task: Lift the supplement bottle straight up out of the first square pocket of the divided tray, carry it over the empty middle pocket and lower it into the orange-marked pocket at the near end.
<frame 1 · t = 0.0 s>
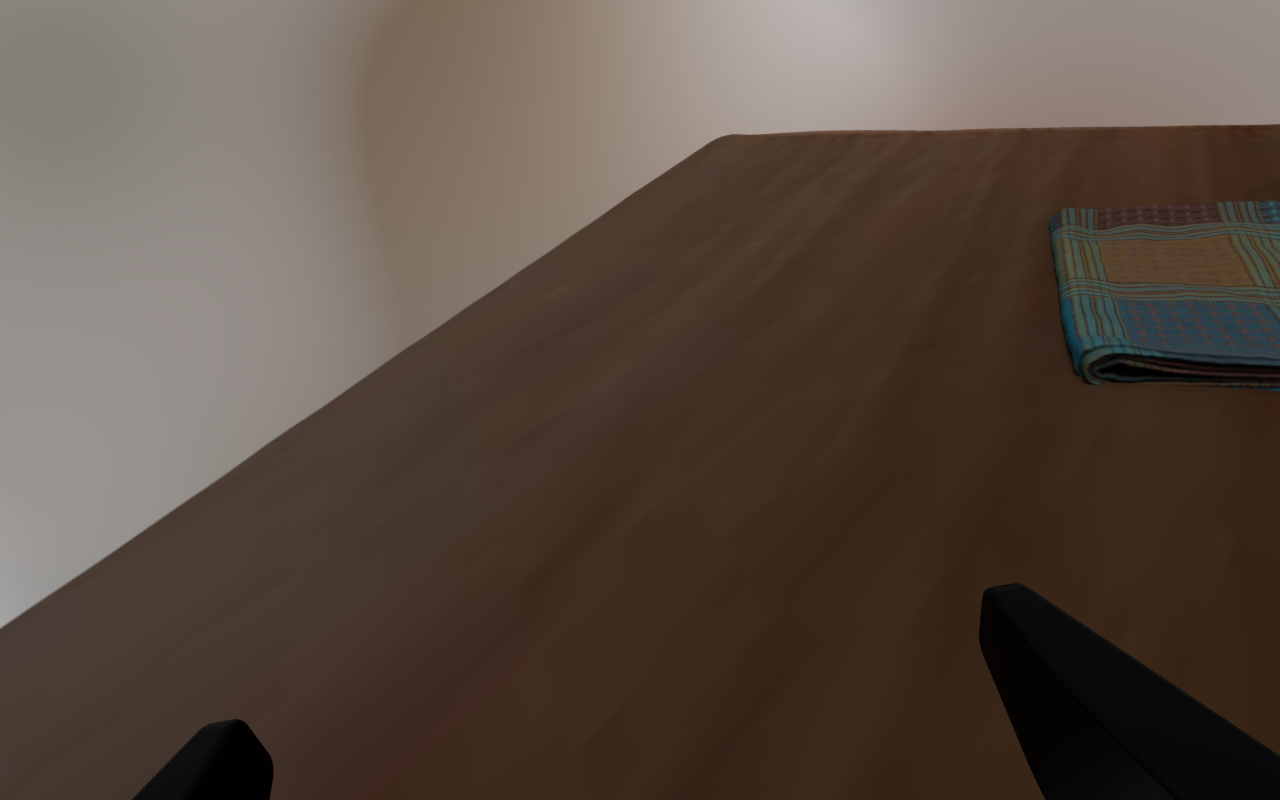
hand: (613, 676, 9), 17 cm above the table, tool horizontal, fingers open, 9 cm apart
dish towel: (1213, 300, 45), on the table
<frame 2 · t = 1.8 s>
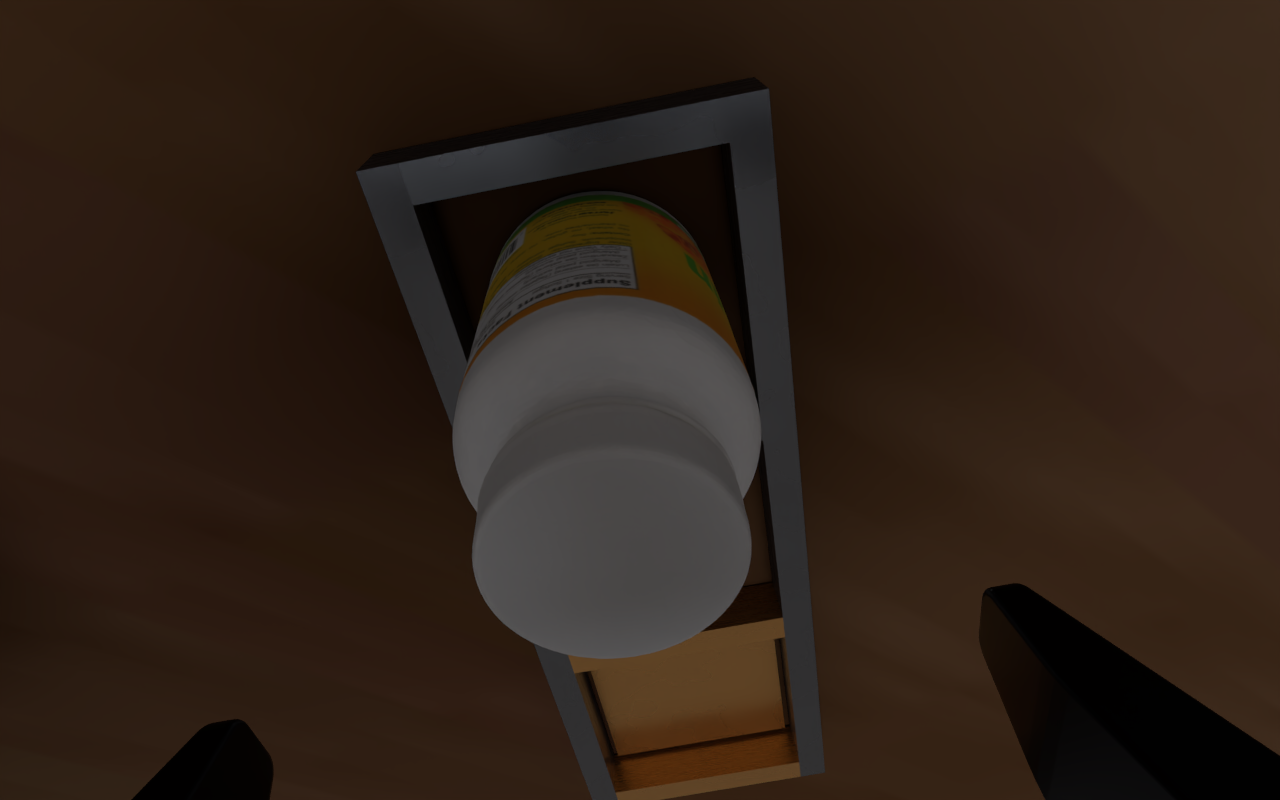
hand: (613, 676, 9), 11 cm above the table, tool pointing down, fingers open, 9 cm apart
divided tray: (652, 522, 23), on the table
supplement bottle: (601, 289, 19), resting in divided tray
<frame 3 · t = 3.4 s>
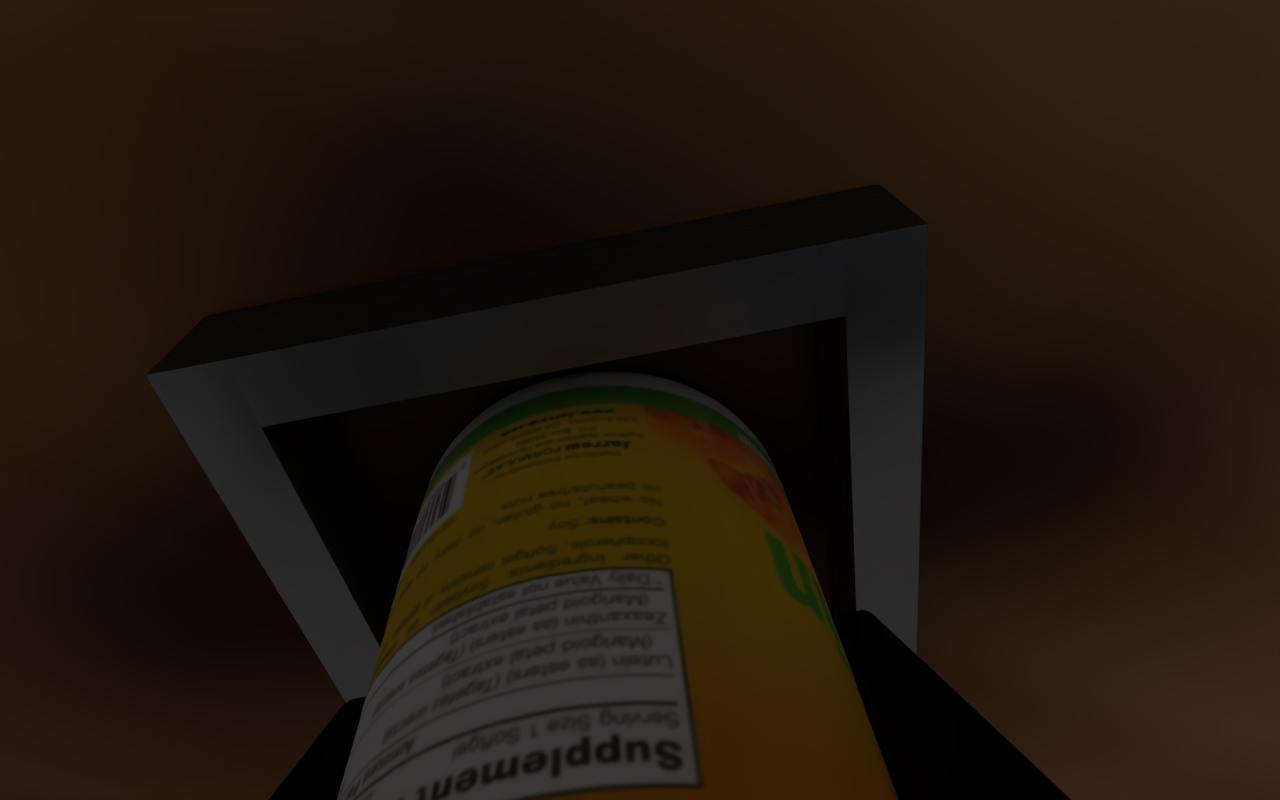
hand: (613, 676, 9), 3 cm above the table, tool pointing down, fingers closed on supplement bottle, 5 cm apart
divided tray: (679, 792, 16), on the table
supplement bottle: (605, 504, 12), resting in divided tray, touching gripper
when the fingers open (4 cm above the table, at t = 8.7 s): supplement bottle stays where it is, resting on divided tray.
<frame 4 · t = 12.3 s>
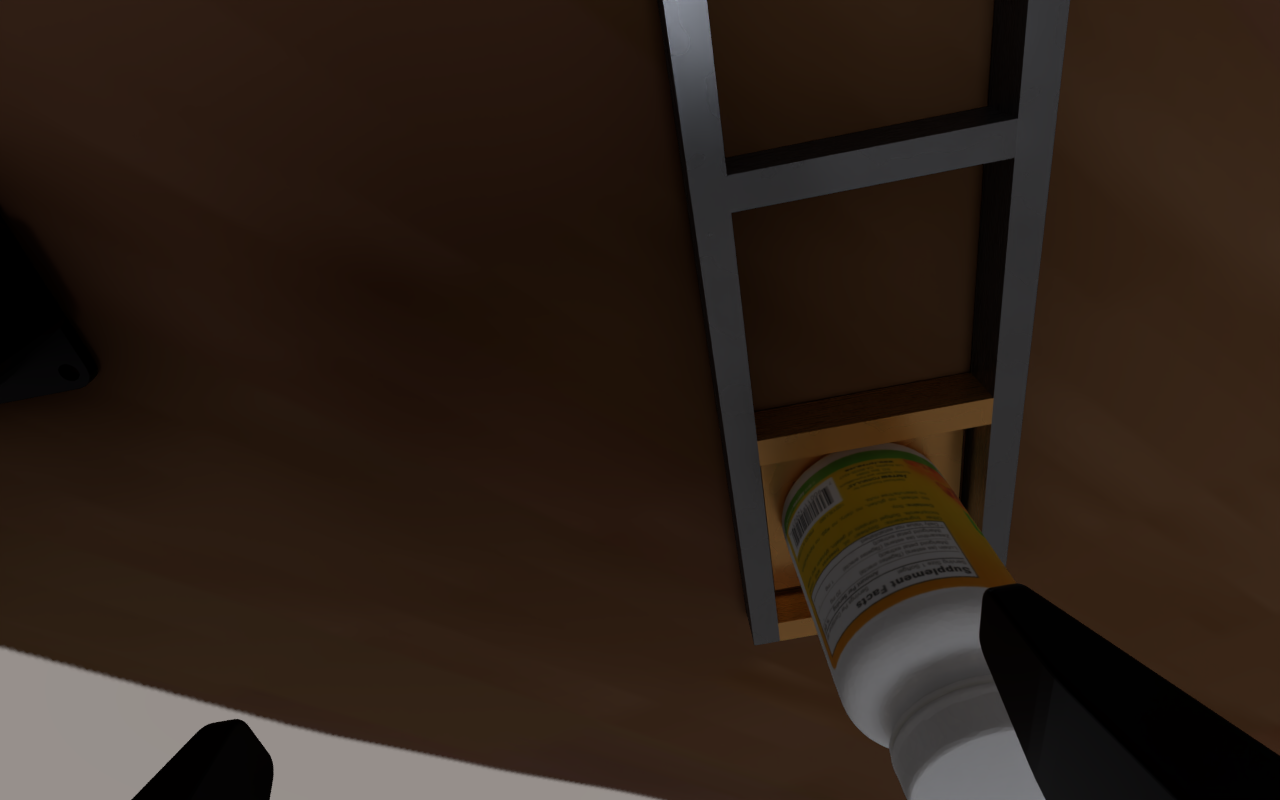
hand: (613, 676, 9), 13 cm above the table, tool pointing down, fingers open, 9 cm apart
divided tray: (855, 290, 21), on the table
supplement bottle: (857, 500, 25), resting on divided tray
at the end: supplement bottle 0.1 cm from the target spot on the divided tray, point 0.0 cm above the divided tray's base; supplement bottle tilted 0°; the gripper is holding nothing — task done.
